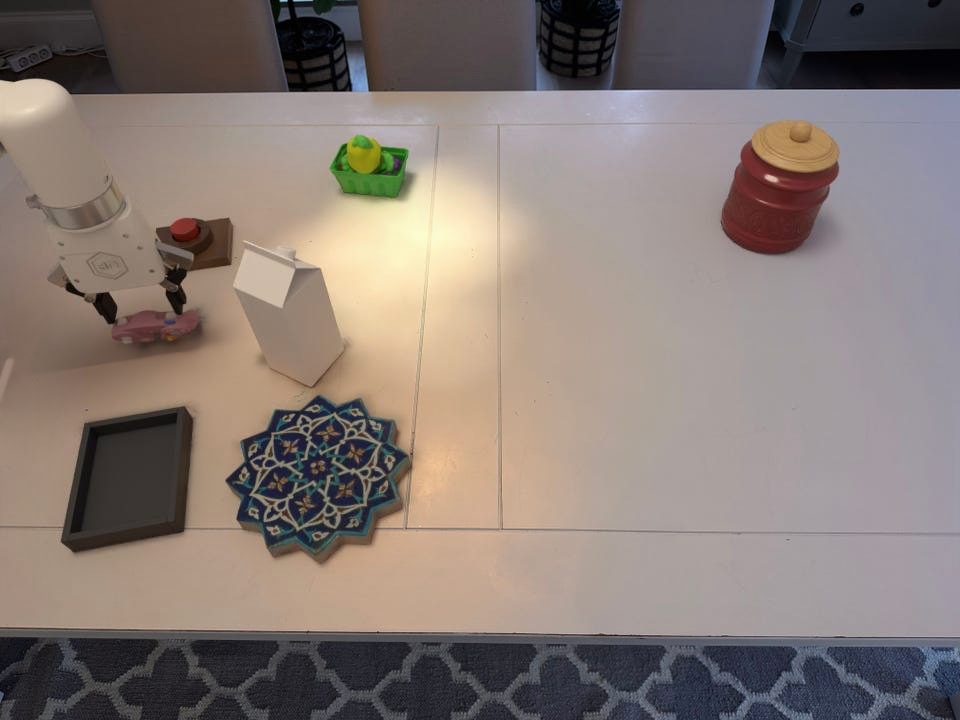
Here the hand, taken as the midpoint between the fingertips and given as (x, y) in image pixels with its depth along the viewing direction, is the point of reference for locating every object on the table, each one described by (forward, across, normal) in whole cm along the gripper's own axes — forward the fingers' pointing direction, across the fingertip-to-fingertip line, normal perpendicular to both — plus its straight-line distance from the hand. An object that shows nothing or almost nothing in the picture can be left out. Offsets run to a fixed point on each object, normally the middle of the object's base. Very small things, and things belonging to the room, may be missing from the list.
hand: (146, 310), depth 86 cm
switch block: (+6, +3, +18) cm, 19 cm away
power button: (+3, +3, +18) cm, 18 cm away
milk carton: (+6, +19, -7) cm, 21 cm away
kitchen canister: (+4, +88, +4) cm, 88 cm away
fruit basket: (+6, +31, +27) cm, 41 cm away
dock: (+6, -1, -21) cm, 22 cm away
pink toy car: (+5, 0, 0) cm, 5 cm away
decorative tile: (+6, +20, -25) cm, 32 cm away
